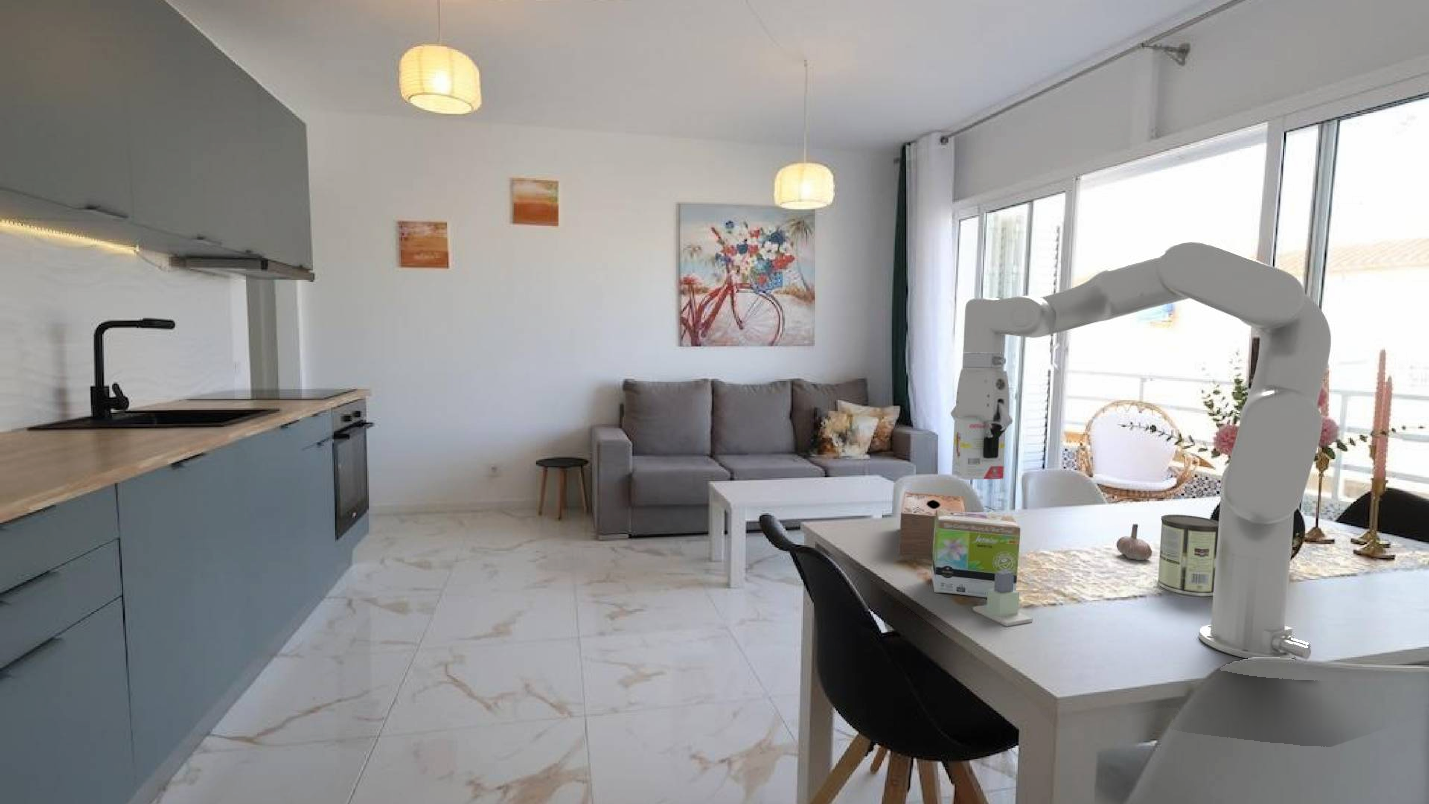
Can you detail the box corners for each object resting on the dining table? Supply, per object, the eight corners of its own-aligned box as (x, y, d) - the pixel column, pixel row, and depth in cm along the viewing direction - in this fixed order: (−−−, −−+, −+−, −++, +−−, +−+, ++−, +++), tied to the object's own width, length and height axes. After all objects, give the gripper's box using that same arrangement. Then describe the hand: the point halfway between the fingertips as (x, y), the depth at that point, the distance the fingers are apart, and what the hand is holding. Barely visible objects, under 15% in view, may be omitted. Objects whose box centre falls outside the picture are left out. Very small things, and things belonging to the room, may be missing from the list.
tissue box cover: (903, 529, 189) (904, 492, 188) (960, 534, 185) (962, 496, 184) (899, 555, 164) (900, 513, 164) (965, 562, 160) (967, 518, 160)
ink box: (990, 474, 143) (993, 416, 142) (1004, 479, 138) (1007, 418, 137) (950, 475, 141) (953, 415, 140) (962, 479, 136) (966, 418, 136)
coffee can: (1182, 578, 151) (1187, 513, 150) (1230, 594, 142) (1235, 525, 140) (1144, 581, 149) (1149, 515, 147) (1189, 598, 139) (1195, 527, 138)
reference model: (1032, 621, 125) (1035, 577, 124) (1006, 626, 123) (1008, 580, 122) (998, 606, 132) (1000, 563, 132) (972, 610, 130) (975, 567, 129)
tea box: (933, 594, 138) (937, 519, 137) (930, 578, 148) (934, 508, 147) (1016, 602, 135) (1021, 525, 133) (1008, 585, 144) (1012, 513, 143)
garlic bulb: (1121, 551, 172) (1124, 518, 171) (1156, 558, 166) (1158, 524, 166) (1111, 557, 166) (1113, 523, 166) (1146, 564, 161) (1148, 529, 161)
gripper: (1033, 364, 131) (1027, 461, 133) (966, 361, 147) (962, 448, 149) (1001, 364, 128) (996, 463, 130) (937, 361, 144) (933, 449, 146)
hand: (978, 454), depth 139 cm, fingers closed on ink box, 5 cm apart
